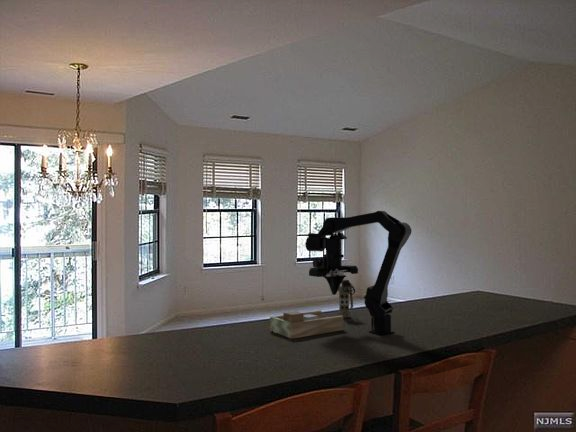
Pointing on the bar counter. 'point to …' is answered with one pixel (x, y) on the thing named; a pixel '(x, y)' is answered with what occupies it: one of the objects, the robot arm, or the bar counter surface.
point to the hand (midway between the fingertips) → (334, 294)
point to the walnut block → (293, 316)
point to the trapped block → (310, 317)
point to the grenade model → (345, 298)
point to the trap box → (306, 325)
